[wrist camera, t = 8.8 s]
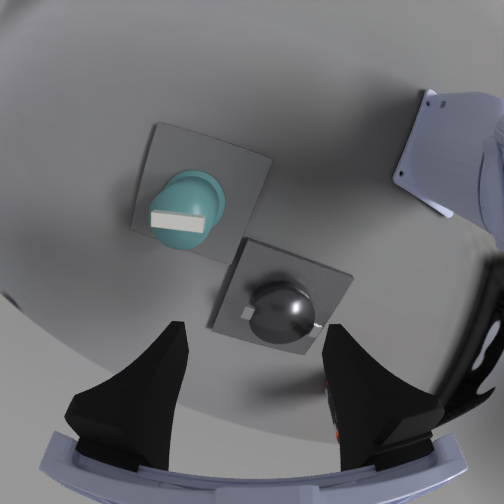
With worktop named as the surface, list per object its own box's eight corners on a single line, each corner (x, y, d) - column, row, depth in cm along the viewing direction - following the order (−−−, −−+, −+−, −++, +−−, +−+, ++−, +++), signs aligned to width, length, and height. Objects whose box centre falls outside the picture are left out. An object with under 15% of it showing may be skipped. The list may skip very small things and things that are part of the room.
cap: (229, 173, 19) (221, 186, 14) (221, 234, 21) (213, 264, 16) (165, 167, 19) (140, 178, 14) (162, 227, 21) (139, 254, 16)
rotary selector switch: (247, 237, 22) (247, 252, 19) (352, 275, 23) (362, 292, 21) (212, 327, 26) (208, 347, 23) (303, 351, 27) (307, 371, 25)
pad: (160, 122, 18) (158, 122, 17) (272, 159, 19) (273, 159, 19) (133, 226, 21) (130, 229, 21) (231, 261, 23) (231, 264, 22)
